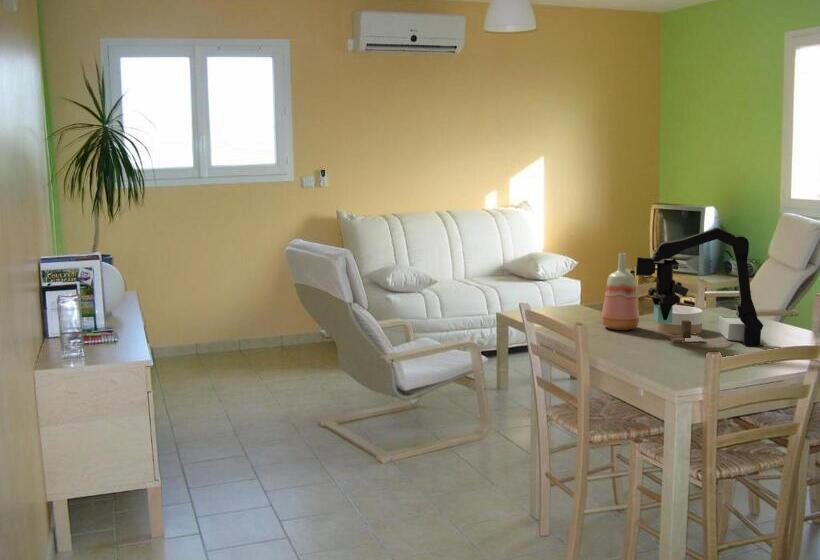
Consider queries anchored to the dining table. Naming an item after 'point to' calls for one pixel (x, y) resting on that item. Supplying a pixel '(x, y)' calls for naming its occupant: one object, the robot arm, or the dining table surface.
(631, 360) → the dining table surface
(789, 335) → the dining table surface
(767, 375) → the dining table surface
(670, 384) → the dining table surface
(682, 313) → the bowl
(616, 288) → the vase
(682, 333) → the post block
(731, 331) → the skincare box
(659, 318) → the teal tilted box
